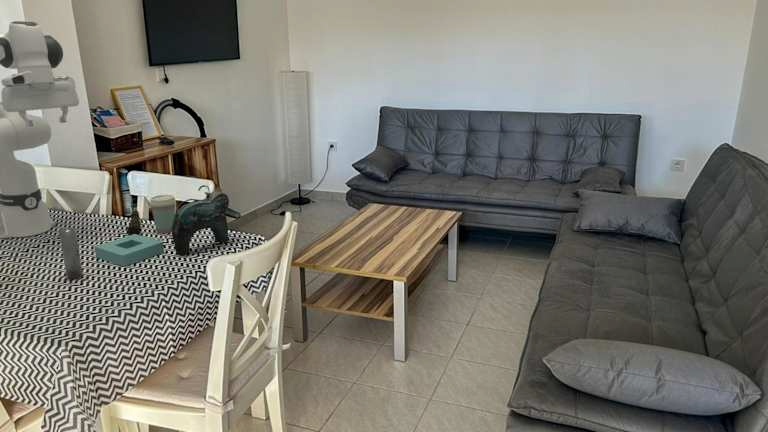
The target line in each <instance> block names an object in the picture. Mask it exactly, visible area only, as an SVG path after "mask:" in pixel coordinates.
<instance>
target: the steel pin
mask: <svg viewBox="0 0 768 432" xmlns="http://www.w3.org/2000/svg"><path fill="white" fill-rule="evenodd" d="M58 234H59V239H60V241H59V242H60V245H61V250H62V251H61V252H62V256H63V263H64V264H63V265H64V269H65V274H66V279H67V280H69V281H73V280H74V281H75V280H79V279H81V278H83V276H84V274H83V269H82V268H83V267H82V262H81V256H80V250H79V244H78V236H77V231H76V228H75V227H71V226H70V227H63V228H60V229H59V230H58Z"/></svg>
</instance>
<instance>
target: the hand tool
mask: <svg viewBox="0 0 768 432" xmlns="http://www.w3.org/2000/svg"><path fill="white" fill-rule="evenodd" d="M130 216H131V217H130V223H129V226H128V227H127V231H126V232H127V236H130V235H133V234H137V235H140V234H141V219H140V212H139V211H138V210H137V209H135V210H132V212H131V214H130ZM140 236H141V235H140Z"/></svg>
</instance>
